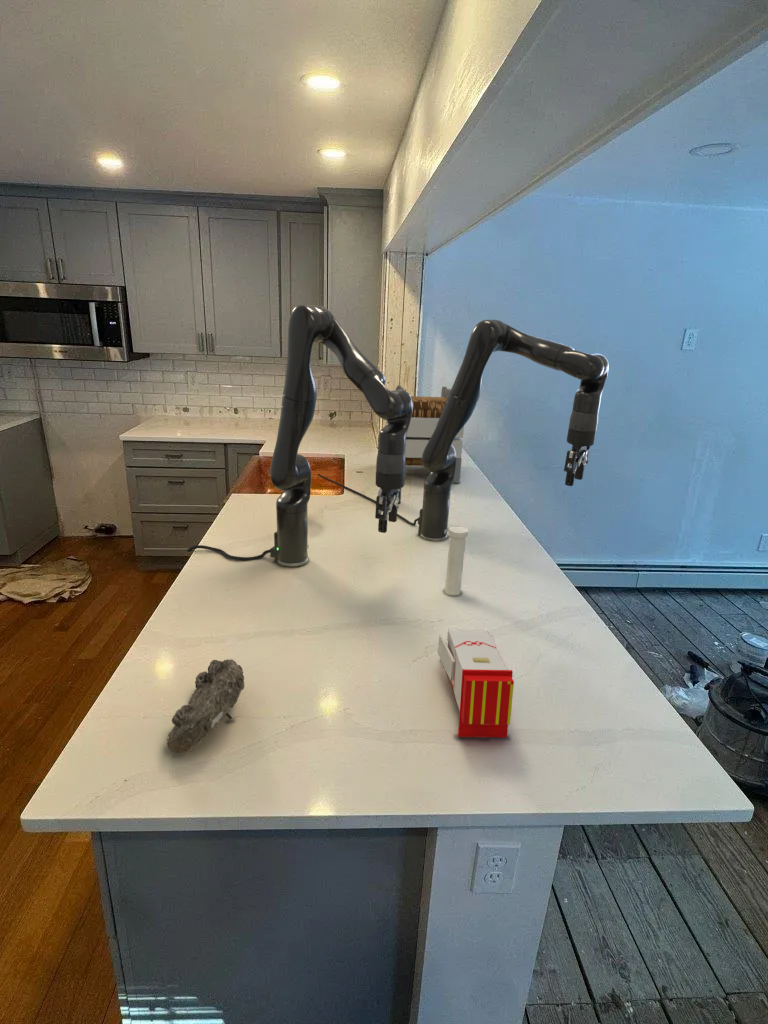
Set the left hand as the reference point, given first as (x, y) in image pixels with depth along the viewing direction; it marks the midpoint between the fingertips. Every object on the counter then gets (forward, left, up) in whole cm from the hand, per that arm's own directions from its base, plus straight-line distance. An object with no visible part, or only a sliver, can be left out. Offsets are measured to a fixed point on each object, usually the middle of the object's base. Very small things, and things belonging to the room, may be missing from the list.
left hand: (387, 526), depth 152 cm
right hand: (+46, +33, +10) cm, 57 cm away
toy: (+31, -35, -20) cm, 51 cm away
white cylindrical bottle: (+18, +7, -20) cm, 27 cm away
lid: (+18, +7, -1) cm, 19 cm away
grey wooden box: (-24, +122, -20) cm, 126 cm away
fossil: (-13, -62, -20) cm, 66 cm away
